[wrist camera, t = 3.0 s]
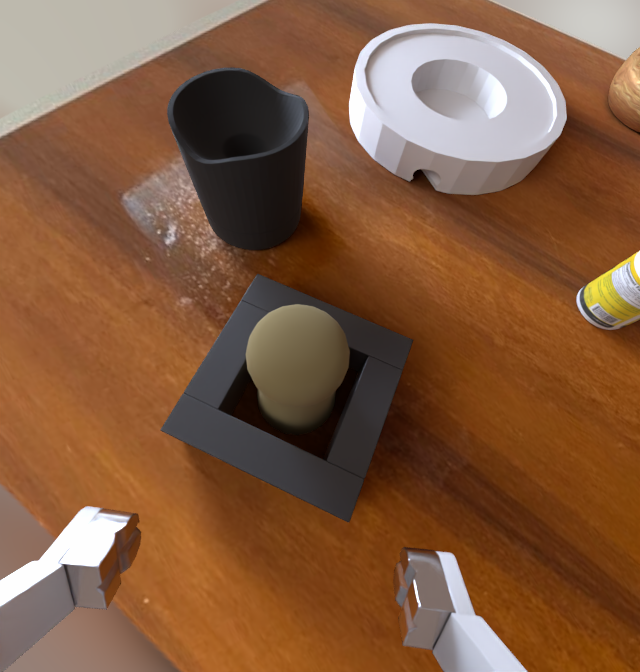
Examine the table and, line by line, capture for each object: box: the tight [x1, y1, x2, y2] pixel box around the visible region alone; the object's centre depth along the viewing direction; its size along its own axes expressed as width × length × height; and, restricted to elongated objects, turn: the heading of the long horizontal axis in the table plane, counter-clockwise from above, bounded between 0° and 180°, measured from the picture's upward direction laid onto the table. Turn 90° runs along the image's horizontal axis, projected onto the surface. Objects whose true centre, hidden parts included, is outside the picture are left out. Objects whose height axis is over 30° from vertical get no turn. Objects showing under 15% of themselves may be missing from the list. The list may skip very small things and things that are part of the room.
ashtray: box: [349, 24, 567, 195], centre depth 37 cm, size 23×23×4 cm
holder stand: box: [161, 274, 413, 522], centre depth 23 cm, size 12×12×4 cm
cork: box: [246, 304, 350, 435], centre depth 20 cm, size 6×6×11 cm
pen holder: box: [167, 68, 309, 250], centre depth 27 cm, size 9×9×10 cm
